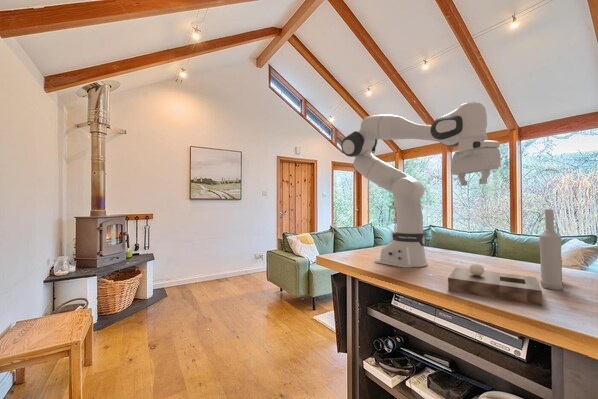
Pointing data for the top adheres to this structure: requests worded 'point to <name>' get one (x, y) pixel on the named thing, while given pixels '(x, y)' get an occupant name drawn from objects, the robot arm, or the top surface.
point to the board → (496, 286)
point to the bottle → (550, 254)
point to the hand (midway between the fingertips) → (473, 184)
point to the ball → (476, 269)
